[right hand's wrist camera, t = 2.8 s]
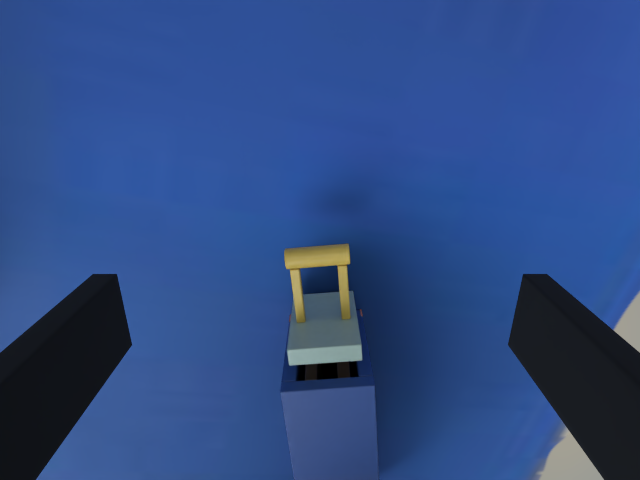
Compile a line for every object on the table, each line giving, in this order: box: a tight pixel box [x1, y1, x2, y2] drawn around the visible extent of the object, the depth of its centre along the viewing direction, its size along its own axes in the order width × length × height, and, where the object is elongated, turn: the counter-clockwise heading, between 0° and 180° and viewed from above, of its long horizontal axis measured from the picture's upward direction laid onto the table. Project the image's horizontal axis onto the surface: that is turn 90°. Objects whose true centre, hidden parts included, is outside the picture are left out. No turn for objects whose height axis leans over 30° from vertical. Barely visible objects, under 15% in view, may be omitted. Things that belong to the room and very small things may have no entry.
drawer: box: [284, 244, 362, 381], centre depth 29 cm, size 23×4×7 cm, turn 5°
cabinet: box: [280, 309, 379, 480], centre depth 31 cm, size 19×6×8 cm, turn 5°
